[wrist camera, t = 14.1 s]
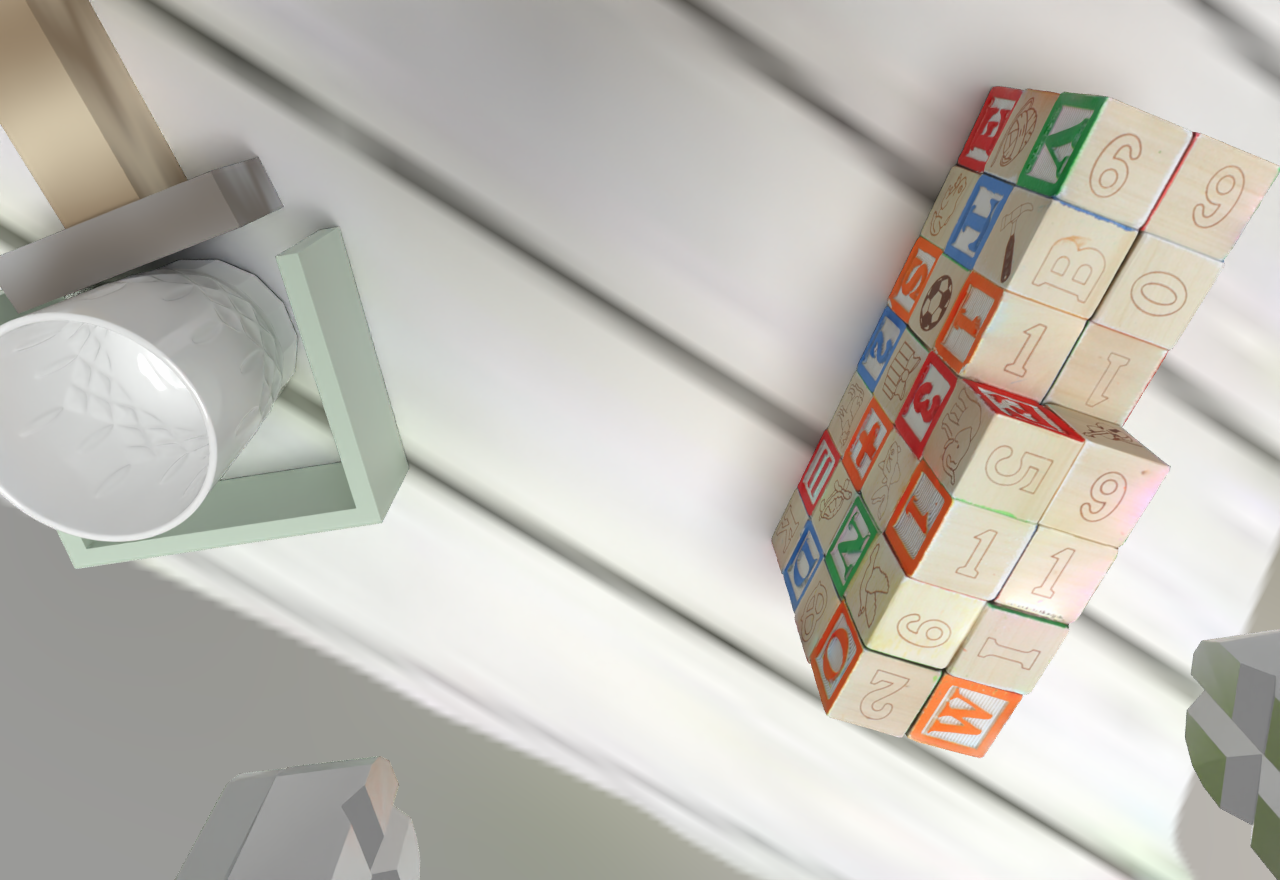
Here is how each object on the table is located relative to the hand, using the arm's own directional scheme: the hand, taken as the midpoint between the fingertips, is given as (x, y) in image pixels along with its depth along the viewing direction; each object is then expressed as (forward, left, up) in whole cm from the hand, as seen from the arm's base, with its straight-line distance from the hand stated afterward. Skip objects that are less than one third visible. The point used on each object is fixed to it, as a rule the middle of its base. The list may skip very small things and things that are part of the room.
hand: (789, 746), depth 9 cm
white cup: (+2, -19, -29) cm, 35 cm away
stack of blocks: (+7, +11, -30) cm, 32 cm away
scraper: (-10, -20, -29) cm, 37 cm away
